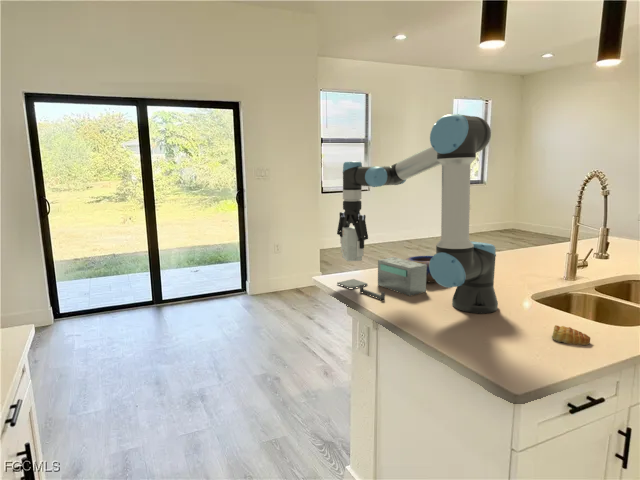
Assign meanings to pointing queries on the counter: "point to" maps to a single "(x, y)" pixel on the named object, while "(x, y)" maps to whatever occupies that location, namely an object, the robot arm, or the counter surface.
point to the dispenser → (400, 277)
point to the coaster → (352, 283)
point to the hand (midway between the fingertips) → (352, 254)
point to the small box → (350, 244)
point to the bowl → (423, 261)
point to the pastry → (570, 336)
